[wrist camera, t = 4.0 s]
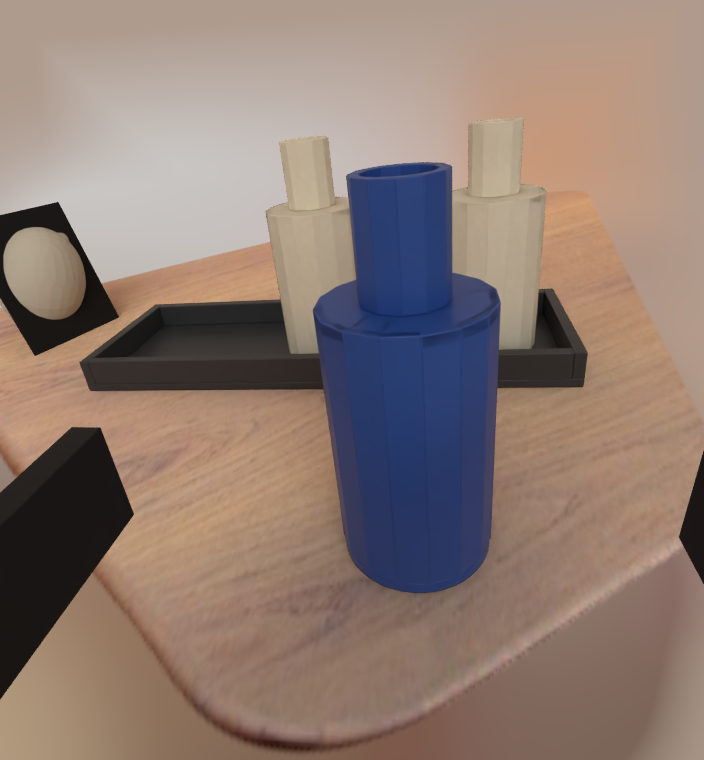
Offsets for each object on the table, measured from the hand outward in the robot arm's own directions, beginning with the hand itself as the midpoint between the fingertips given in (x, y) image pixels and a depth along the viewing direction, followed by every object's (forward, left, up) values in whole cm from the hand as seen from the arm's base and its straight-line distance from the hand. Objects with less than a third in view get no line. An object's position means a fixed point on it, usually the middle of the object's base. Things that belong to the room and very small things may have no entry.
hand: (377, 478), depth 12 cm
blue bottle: (+6, -7, -11) cm, 15 cm away
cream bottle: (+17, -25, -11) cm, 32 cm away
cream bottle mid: (+26, -16, -11) cm, 33 cm away
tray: (+26, -16, -11) cm, 33 cm away
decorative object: (+53, +1, -11) cm, 55 cm away
